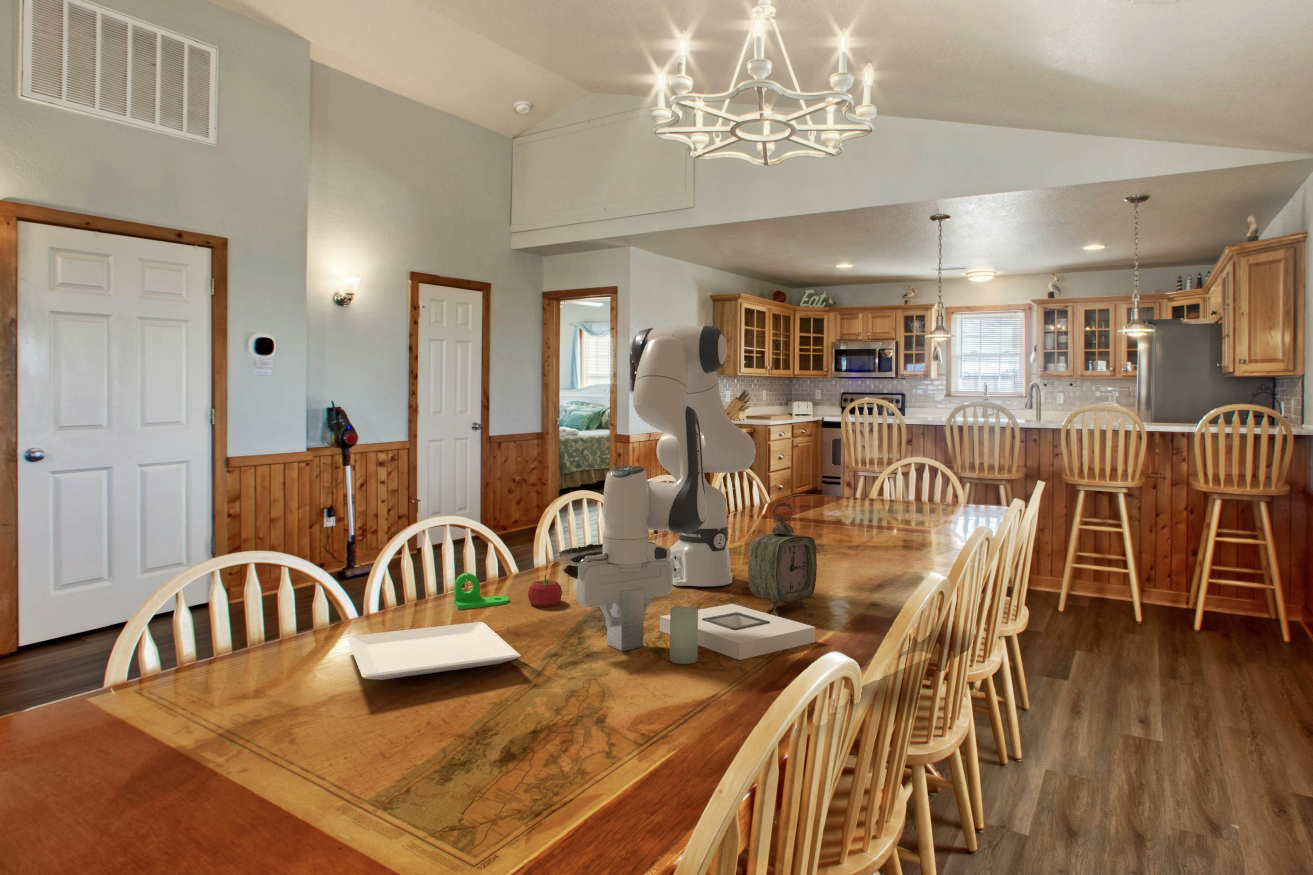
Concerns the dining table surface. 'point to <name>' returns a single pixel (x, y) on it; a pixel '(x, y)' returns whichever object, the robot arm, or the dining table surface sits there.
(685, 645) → the round peg
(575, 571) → the stone bowl
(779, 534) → the tabletop clock
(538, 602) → the tomato
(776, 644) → the socket board
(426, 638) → the plate
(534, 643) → the dining table surface
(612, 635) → the square peg
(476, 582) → the mechanical part
